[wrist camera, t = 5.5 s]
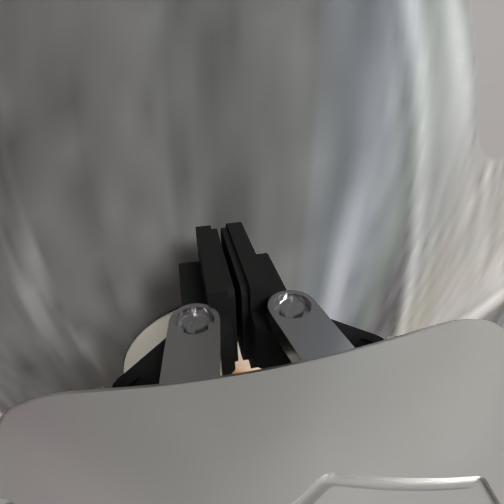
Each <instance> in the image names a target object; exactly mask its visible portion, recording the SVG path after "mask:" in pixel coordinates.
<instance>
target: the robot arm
mask: <svg viewBox="0 0 504 504" xmlns="http://www.w3.org/2000/svg"><path fill="white" fill-rule="evenodd" d="M196 237H197V247H198V256H199V261H198V262H189V263H181V264H179V273H180V287H181V301H182V307H180V308H178V309H177V310H175V311H174V312H173V314H172V315H171V317H170V319H169V324H168V329H167V335H166V338H165V339H164V340H163V341H161V342H160V343H159V344H158V345H157V346H156V347H154V348H153V349H152V350H151V351H150V352H149V353H147V354H146V355H145V356H144V357H143V358H142V359H140V360H139V361H138V362H137V363H136V364H135V365H133V366H132V367H131V368H130V369H129V370H127V371H126V372H125V373H124V374H123V375H122V376H120V377H119V378H118V379H117V380H116V381H115V383H114V384H113V386H112V387H111V388H104V386H99V387H95V388H91V389H87V390H75V391H65V392H58V393H51V394H47V395H43V396H38V397H35V398H32V399H29V400H26V401H24V402H21V403H19V404H17V405H15V406H13V407H12V408H10V409H8V410H7V411H6V412H5V413H4V414H3V415H2V416H1V418H0V504H504V330H503V329H502V328H501V327H500V326H498V325H497V324H495V323H493V322H490V321H486V320H480V319H462V320H453V321H449V322H444V323H440V324H437V325H433V326H430V327H427V328H423V329H420V330H416V331H413V332H410V333H406V334H403V335H400V336H393V337H388V338H387V339H386V340H384V339H383V338H381V337H379V336H377V335H375V334H372V333H369V332H366V331H363V330H360V329H357V328H355V327H352V326H349V325H346V324H343V323H340V322H337V321H335V320H332V319H330V318H329V317H328V315H327V314H326V313H325V312H324V311H323V310H322V308H321V307H320V306H319V305H318V304H317V303H316V301H315V300H314V299H313V298H312V297H310V296H309V295H308V294H306V293H303V292H300V291H296V290H286V288H285V286H284V284H283V282H282V280H281V278H280V276H279V275H278V273H277V271H276V269H275V267H274V265H273V263H272V261H271V259H270V257H269V255H268V254H267V253H263V254H256V253H255V251H254V249H253V247H252V245H251V242H250V240H249V238H248V236H247V234H246V232H245V229H244V227H243V225H242V223H241V222H238V223H228V224H226V228H221V242H220V239H219V235H218V232H217V229H211V226H201V227H196ZM237 341H238V343H237ZM238 345H239V348H240V352H241V356H242V359H243V360H249V363H250V367H251V368H257V367H259V368H261V369H259V370H253V371H247V372H242V373H236V374H232V373H233V372H234V370H235V369H236V368H235V362H236V361H238Z"/></svg>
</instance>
